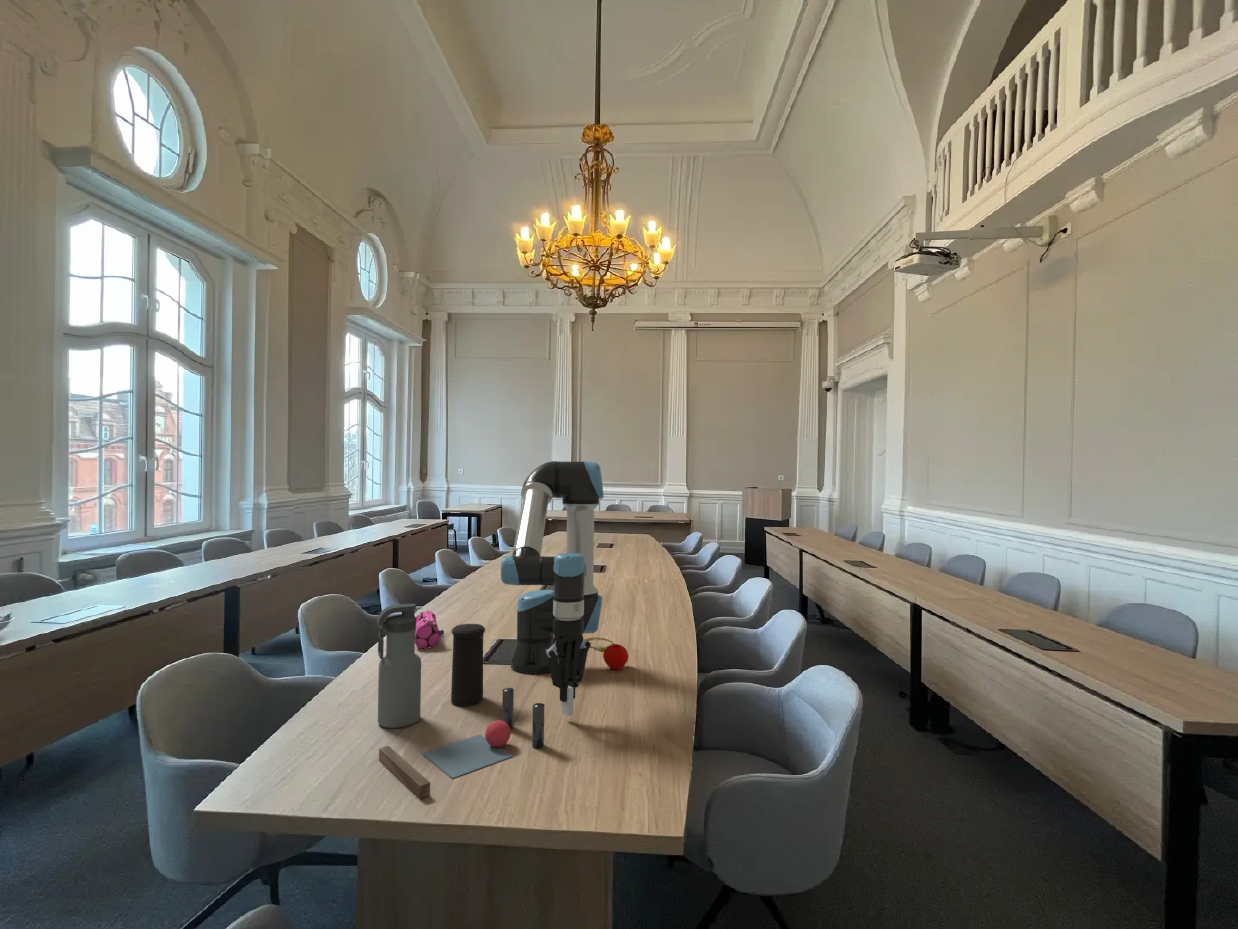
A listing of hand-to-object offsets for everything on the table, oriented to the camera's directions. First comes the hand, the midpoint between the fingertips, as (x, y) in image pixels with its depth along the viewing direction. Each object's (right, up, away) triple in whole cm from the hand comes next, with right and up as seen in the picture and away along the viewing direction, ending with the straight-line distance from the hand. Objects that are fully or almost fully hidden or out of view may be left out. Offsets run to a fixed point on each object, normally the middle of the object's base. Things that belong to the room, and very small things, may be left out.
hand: (567, 713), depth 146 cm
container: (-28, -2, +13) cm, 31 cm away
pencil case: (-57, -3, +68) cm, 88 cm away
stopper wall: (-30, -1, -28) cm, 41 cm away
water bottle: (-41, -2, -1) cm, 41 cm away
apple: (+12, -3, +41) cm, 42 cm away
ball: (-14, +1, -14) cm, 20 cm away
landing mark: (-20, -1, -18) cm, 27 cm away
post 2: (-5, -2, -13) cm, 15 cm away
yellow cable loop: (+6, -4, +66) cm, 66 cm away
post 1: (-14, -2, -4) cm, 15 cm away
